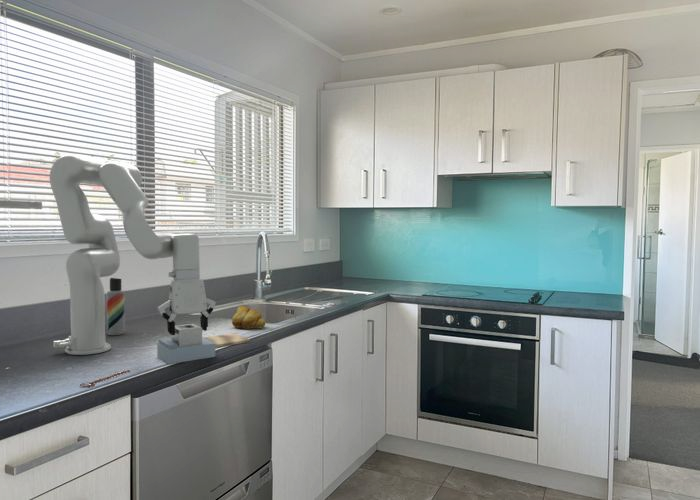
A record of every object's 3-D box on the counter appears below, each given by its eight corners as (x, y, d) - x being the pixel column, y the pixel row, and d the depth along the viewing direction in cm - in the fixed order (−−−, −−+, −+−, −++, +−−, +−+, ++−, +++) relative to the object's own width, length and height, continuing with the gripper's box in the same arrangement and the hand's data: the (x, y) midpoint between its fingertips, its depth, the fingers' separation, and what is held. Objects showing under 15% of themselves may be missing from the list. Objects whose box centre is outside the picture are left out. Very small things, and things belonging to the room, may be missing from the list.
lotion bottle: (104, 333, 188) (103, 277, 187) (120, 331, 192) (120, 276, 191) (111, 336, 184) (110, 278, 183) (127, 333, 188) (127, 277, 187)
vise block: (168, 363, 150) (168, 334, 150) (157, 356, 158) (157, 328, 158) (215, 356, 159) (215, 328, 158) (202, 349, 167) (202, 323, 166)
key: (118, 372, 144) (70, 387, 130) (118, 369, 144) (70, 384, 130) (134, 373, 142) (87, 389, 128) (134, 369, 142) (87, 385, 128)
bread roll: (269, 327, 204) (270, 306, 203) (255, 331, 195) (256, 310, 194) (241, 324, 209) (241, 303, 208) (226, 328, 200) (226, 307, 199)
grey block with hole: (178, 347, 153) (178, 330, 153) (170, 342, 159) (170, 326, 159) (202, 344, 158) (202, 327, 157) (193, 339, 163) (193, 323, 163)
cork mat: (216, 347, 171) (216, 344, 171) (201, 340, 180) (201, 337, 180) (249, 342, 178) (249, 339, 178) (234, 335, 187) (234, 333, 187)
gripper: (161, 278, 149) (163, 338, 150) (219, 273, 159) (220, 330, 160) (152, 276, 155) (154, 334, 156) (209, 272, 165) (210, 326, 166)
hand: (188, 332), depth 158 cm, fingers open, 9 cm apart
